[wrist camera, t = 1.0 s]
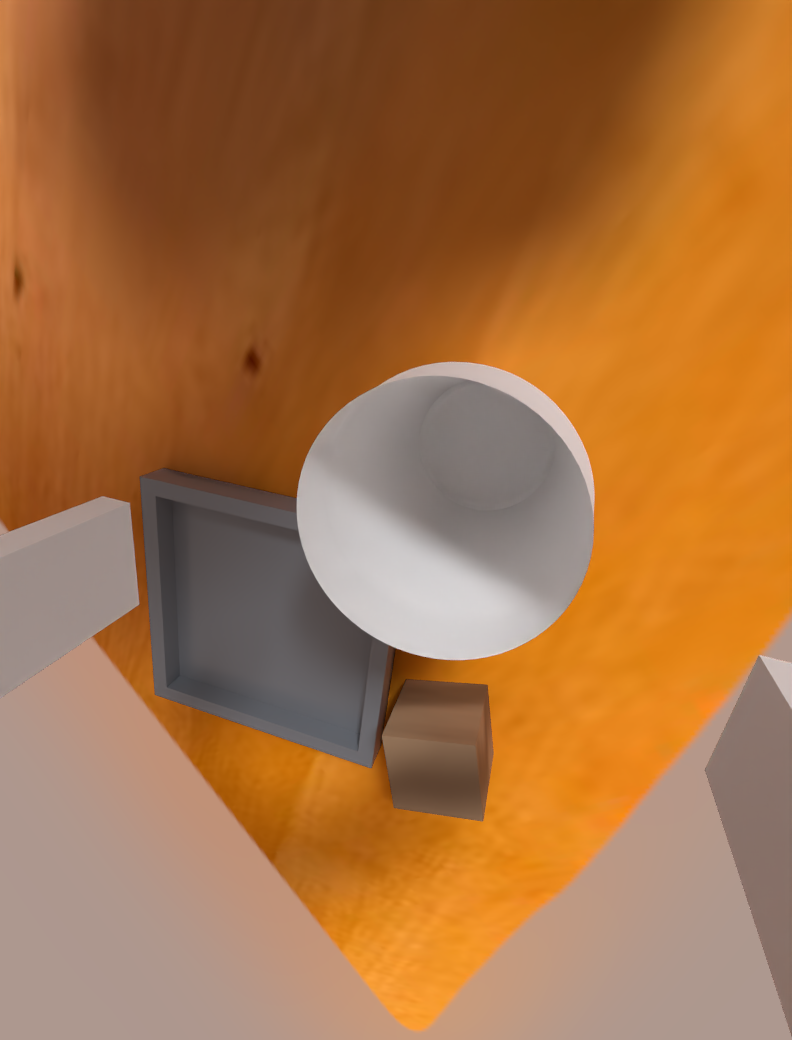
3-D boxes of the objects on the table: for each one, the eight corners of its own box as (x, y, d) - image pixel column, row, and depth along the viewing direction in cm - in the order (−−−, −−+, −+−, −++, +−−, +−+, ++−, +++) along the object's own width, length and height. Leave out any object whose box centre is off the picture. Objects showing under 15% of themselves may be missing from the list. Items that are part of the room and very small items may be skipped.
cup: (437, 550, 28) (364, 688, 18) (370, 395, 26) (242, 442, 16) (607, 499, 25) (645, 630, 14) (543, 316, 23) (532, 305, 12)
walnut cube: (406, 678, 32) (381, 735, 27) (487, 683, 30) (475, 745, 26) (415, 743, 34) (394, 807, 29) (493, 752, 32) (483, 821, 27)
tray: (163, 468, 32) (139, 476, 30) (413, 524, 28) (404, 538, 26) (174, 677, 38) (154, 694, 36) (381, 745, 34) (371, 768, 32)
